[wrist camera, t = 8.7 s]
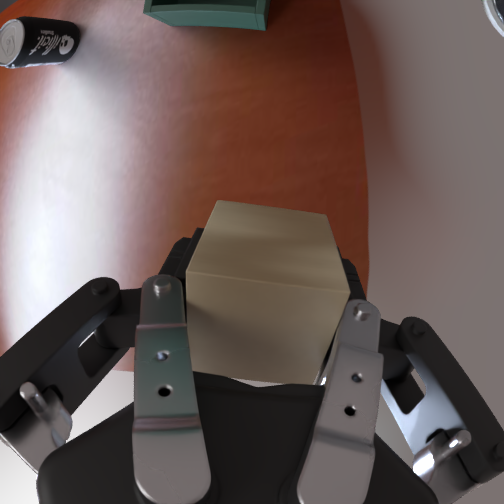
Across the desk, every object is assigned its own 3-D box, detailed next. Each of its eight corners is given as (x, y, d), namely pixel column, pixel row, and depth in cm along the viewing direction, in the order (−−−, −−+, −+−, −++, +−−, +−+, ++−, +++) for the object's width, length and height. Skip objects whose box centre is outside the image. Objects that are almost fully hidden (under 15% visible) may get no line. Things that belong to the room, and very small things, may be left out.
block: (326, 214, 12) (351, 292, 8) (305, 298, 14) (312, 386, 10) (217, 199, 12) (185, 270, 8) (212, 287, 14) (189, 371, 10)
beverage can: (77, 13, 27) (22, 4, 16) (87, 50, 30) (29, 49, 20) (44, 36, 28) (-13, 37, 18) (52, 71, 31) (-5, 80, 21)
